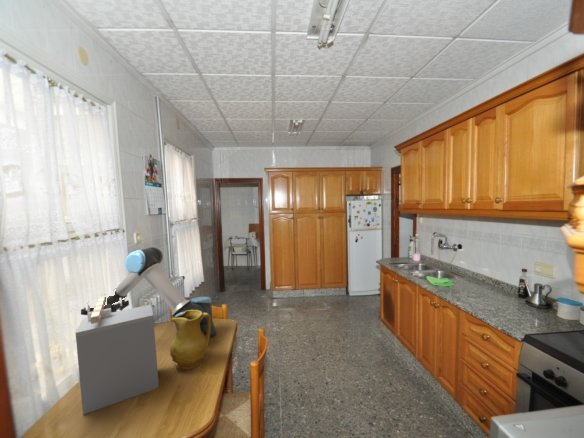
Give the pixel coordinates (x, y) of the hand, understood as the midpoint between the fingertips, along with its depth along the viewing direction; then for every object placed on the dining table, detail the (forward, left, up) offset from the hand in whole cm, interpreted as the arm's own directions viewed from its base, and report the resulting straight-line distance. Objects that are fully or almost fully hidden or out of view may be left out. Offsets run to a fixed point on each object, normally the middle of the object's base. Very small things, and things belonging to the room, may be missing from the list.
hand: (104, 303), depth 130 cm
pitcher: (-38, -14, -33) cm, 52 cm away
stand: (-22, +10, -33) cm, 41 cm away
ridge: (-15, +13, -1) cm, 20 cm away
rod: (-15, +13, +2) cm, 20 cm away
